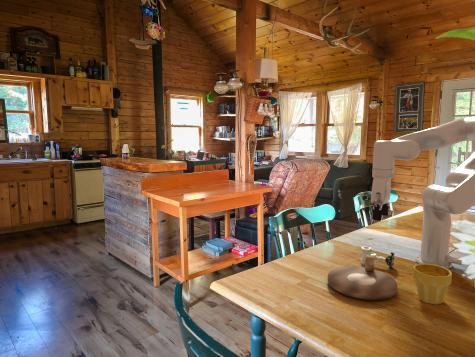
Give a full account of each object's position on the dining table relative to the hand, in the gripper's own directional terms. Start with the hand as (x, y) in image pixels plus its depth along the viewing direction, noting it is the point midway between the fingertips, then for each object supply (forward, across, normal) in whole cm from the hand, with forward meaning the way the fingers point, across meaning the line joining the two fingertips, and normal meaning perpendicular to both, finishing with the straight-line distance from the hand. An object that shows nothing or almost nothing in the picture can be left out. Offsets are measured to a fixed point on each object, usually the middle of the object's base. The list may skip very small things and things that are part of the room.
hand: (380, 217), depth 128 cm
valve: (+20, 0, 0) cm, 20 cm away
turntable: (+18, +22, 0) cm, 29 cm away
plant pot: (+20, +18, +20) cm, 33 cm away
